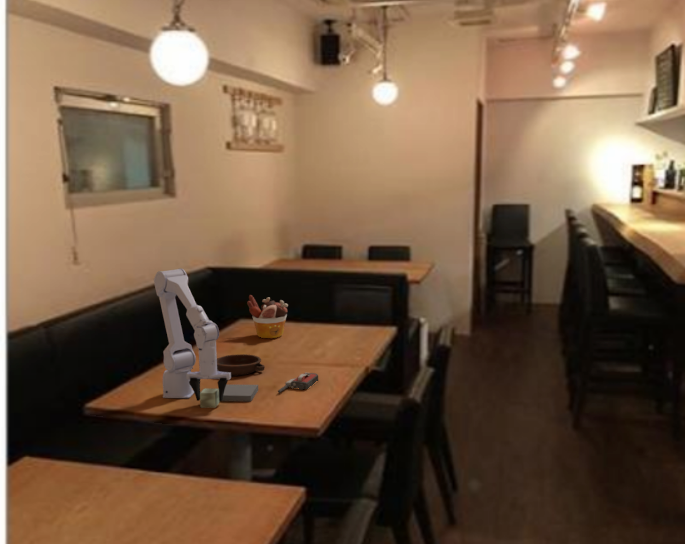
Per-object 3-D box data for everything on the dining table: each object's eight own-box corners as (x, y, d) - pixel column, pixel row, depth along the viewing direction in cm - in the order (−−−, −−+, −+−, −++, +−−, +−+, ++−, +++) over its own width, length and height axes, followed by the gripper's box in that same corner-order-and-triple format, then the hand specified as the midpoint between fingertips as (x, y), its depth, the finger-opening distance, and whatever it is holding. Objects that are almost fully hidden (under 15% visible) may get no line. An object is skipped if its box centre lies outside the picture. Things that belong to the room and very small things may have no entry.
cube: (200, 407, 220) (199, 393, 220) (204, 402, 225) (204, 388, 225) (215, 407, 220) (214, 393, 219) (219, 402, 225) (218, 388, 224)
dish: (255, 380, 250) (255, 367, 249) (202, 376, 256) (201, 364, 255) (272, 367, 267) (272, 355, 266) (221, 364, 272) (221, 352, 272)
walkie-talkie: (299, 378, 251) (275, 395, 233) (298, 367, 251) (275, 383, 232) (320, 380, 248) (298, 397, 230) (320, 369, 248) (298, 385, 229)
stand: (216, 401, 227) (215, 395, 226) (225, 389, 238) (225, 384, 238) (250, 401, 226) (250, 395, 225) (258, 390, 237) (258, 384, 237)
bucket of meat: (293, 332, 324) (292, 292, 322) (284, 341, 308) (283, 298, 306) (254, 331, 328) (252, 291, 325) (243, 339, 312) (241, 298, 309)
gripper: (182, 363, 217) (184, 403, 219) (226, 363, 216) (228, 404, 218) (189, 357, 224) (191, 396, 226) (231, 357, 223) (233, 397, 225)
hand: (209, 399), depth 222 cm, fingers open, 7 cm apart
